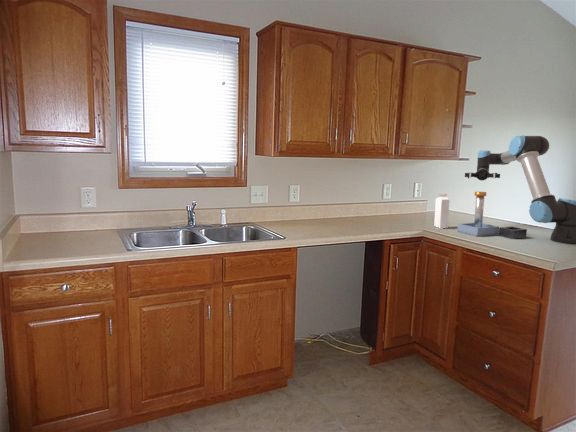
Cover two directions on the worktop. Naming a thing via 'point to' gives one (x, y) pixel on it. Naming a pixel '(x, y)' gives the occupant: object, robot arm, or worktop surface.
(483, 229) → the tray
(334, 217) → the worktop surface
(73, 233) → the worktop surface
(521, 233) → the hitch block
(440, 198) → the milk
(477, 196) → the pin
